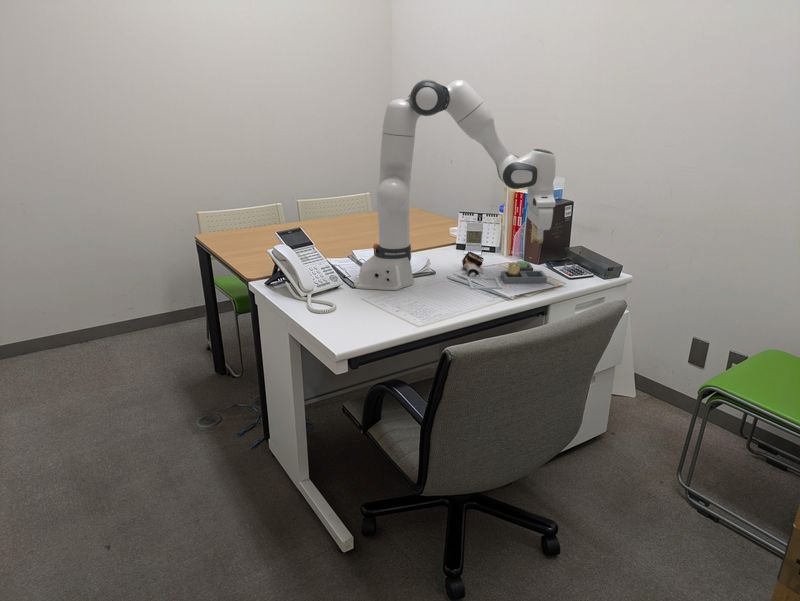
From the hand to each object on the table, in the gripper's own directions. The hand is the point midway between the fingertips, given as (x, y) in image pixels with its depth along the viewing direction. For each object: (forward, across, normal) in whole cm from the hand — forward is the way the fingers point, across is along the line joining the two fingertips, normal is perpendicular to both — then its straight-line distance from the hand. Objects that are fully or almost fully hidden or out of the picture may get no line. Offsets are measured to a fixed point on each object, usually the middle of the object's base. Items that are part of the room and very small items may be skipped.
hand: (537, 236), depth 194 cm
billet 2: (+2, 0, 0) cm, 2 cm away
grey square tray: (+17, +4, -19) cm, 26 cm away
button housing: (+17, -8, -3) cm, 19 cm away
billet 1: (+16, 0, -8) cm, 18 cm away
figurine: (+18, -9, -22) cm, 30 cm away
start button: (+16, -8, -3) cm, 18 cm away
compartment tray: (+17, 0, -4) cm, 18 cm away
